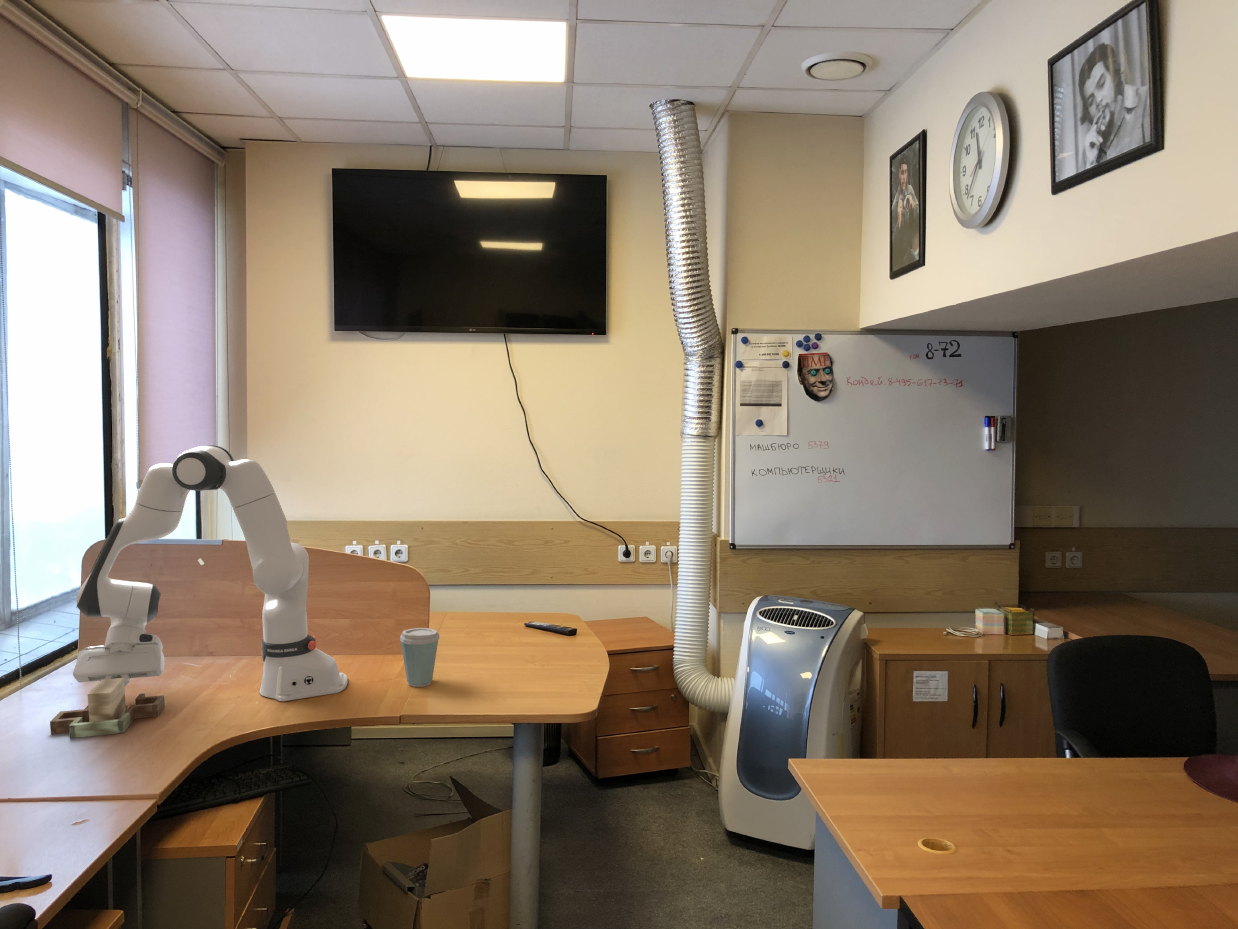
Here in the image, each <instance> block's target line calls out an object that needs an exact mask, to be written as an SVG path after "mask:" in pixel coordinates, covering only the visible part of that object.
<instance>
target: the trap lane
mask: <svg viewBox="0 0 1238 929" xmlns="http://www.w3.org/2000/svg"><path fill="white" fill-rule="evenodd" d="M165 701H166V700H165V695H164V694H163V695H151V696H146V693H143V692H142V693H139V694H138V695H137V697H136V698H135V699H134V702H135V703H134V704H132V705H131V704H130V705H129V706H128V707H127V708H126V711H125V713H124V714H123V715H122V716H121V717H120V719H116V720H106V721H95V722H89V708H88V705H87V706H86V707H85V708H84V709H75V710H74V709H73V710H62V711H59V712H58V713H57V714H56V715H55V716H54V717H53V718H52V719H51V720H50V722H49V726H50V735H55V734H64V733H69V734H68V735H69V739H73V738H74V739H75V738H84V737H85V738H86V737H94V736H95V737H96V736H104V735H116V734H124V733H125V732H126V731H127V729H128V728H129V726H131V724H132V723H133V722H134V720H135V719H141V718H142V719H143V718H153V717H159V715H160V714H161V713H162V712H163V710H164V709H165V704H166V703H165Z"/></svg>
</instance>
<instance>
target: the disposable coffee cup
mask: <svg viewBox="0 0 1238 929" xmlns="http://www.w3.org/2000/svg"><path fill="white" fill-rule="evenodd" d="M439 639H440V633H439V632H438V631H437V630H436V629H434V628H428V627H416V628H408V629H404V630H403V631H402V632H401V634H400V636H399V641H400V645H401V650H402V658H403V664H404V669H405V670H404V671H405V676H406V677H405V678H406V682H407V683H408V685H409V686H411V687H415V688H423V687H427V686H429V685H431V683H432V681H433V678H434V671H435V665H436V658H437V652H438V651H437V650H438V645H439Z"/></svg>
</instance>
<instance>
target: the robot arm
mask: <svg viewBox="0 0 1238 929" xmlns="http://www.w3.org/2000/svg"><path fill="white" fill-rule="evenodd" d="M219 489H220V490H221V491H223V492H224V493H225V494H226V496H227V498H228V500H229V504H230V505H231V508H232V510H233V513H234V515H235V517H236V520H237V522H238V524H239V527H240V529H241V532H242V534H243V537H244V540H245V543H246V544H245V545H246V549H247V552H248V558H249V561H250V565H251V569H252V579H253V580H252V581H253V582H254V585H255V587H256V588H257V589H258V590H259V591H260V592H262V593H263V594H264V599H263V607H262V615H261V616H262V633H263V634H262V637H263V639H262V641H261V659H262V662H263V670H262V677H261V682H260V684H261V685H260V689H259V694H260V695H261V696H263V697H266V698H270V699H275V700H276V701H279V702H287V701H294V700H300V699H301V700H302V699H305V698H311V697H313V698H314V697H318V696H325V695H332V694H338V693H340V692H342V691H343V690H345V689H346V687H347V686H348V676H347V674H345V673H343V672H340V670H339V666H338V663H337V662H336V660H335V658H334V657H332V656H331V655H329V654H328V653H325V652H324V651H322V650H320V649H318V648H317V639H316V636H315V635H313V636H312V635H310V634H308V617H307V615H308V613H307V603H308V592H309V591H308V590H309V588H308V587H309V570H310V569H309V566H310V565H309V564H310V557H309V553H308V551H307V550H306V547H304V546H303V545H301V544H300V543H296V542H292V541H291V538H290V535H289V531H288V523H287V522H288V521H287V518H286V516H285V513H284V510H283V508H282V506H281V504H280V501H279V497H278V496H277V493H276V491H275V488H274V487H273V484H272V483H271V480H270V478H268V474H266V472H265V470H264V469H263V467H262V465H261V464H260V463H259V462H257V461H256V460H253V459H247V458H245V459H238V460H235V461H234V457H233V456H232V454H231V453H230V452H229V451H228V450H227V449H225V448H224V447H221V446H219V445H214V444H213V445H212V444H211V445H200V446H196V447H192V448H190V449H186V450H184V451H183V452H182V453H180V454H179V455H178V456H177V457H176V458H175V460H174V461H173V463H168V462H165V463H163V462H161V463H156V464H153V465H151V467H149V469H148V470H147V472H146V474H145V476H144V478H143V481H142V482H141V485H140V488H139V490H138V493H137V496H136V500H135V504H134V506H133V508H132V509H131V510H130V512H129V513H128V514H127V515H126V516H125V517H123V518H122V517H121V518H118V520H116V522H115V523H113V526H112V527H111V529H110V531H109V534H108V535H107V537H106V538H105V541H104V542H103V545H102V547H101V549H100V551H99V553H98V555H97V557H96V559H95V561H94V563H93V566H92V568H91V571H90V572H89V574H88V576H87V578H86V579H85V581H84V582H83V583H82V585H81V587H80V589H79V590H78V593H77V595H76V607H77V609H78V610H79V611H80V612H81V613H82V614H83V615H84V616H86V618H87V617H89V618H90V617H92V618H102V617H104V618H110V619H109V620H110V626H109V628H108V630H107V633H106V637H105V641H104V645H96V646H93V645H92V646H91V645H90V646H86V647H85V648H82V649H81V650H79V651H78V654H77V656H76V663H75V665H74V669H73V672H72V676H73V678H74V680H76V681H77V682H78V683H90V682H91V683H92V682H100V681H101V680H105V679H116V678H124V688H126V687H127V686H128V684H129V683H130V681H131V679H137V678H138V679H139V678H151V677H160V676H161V675H162V674H163V673H164V671H165V655H164V653H163V649H164V647H163V643H162V641H161V639H160V638H159V636H158V635H156V634H151V633H147V632H146V626H147V624H148V623H149V622H151V621H152V620H154V619H155V618H156V617H157V616H158V613H159V602H160V600H161V596H162V594H161V591H160V590H159V589H158V588H157V586H156V585H155V584H152V583H149V582H142V581H141V582H140V581H131V580H123V579H114V578H111V577H109V574H110V572H111V570H112V567H113V566H114V564H115V562H116V559H117V557H118V555H119V554H120V552H121V551H122V550H123V549H125V548H126V547H128V546H130V545H135V544H138V543H144V542H150V541H155V540H159V539H162V538H164V537H167V536H168V535H170V534H171V533H173V532H174V531H175V530H176V529H177V527H178V526H179V523H180V521H181V519H182V515H183V511H184V509H185V508H184V507H185V503H186V500H187V497H188V495H189V492H190V491H195V492H199V491H201V492H202V491H217V490H219Z"/></svg>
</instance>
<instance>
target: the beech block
mask: <svg viewBox="0 0 1238 929" xmlns="http://www.w3.org/2000/svg"><path fill="white" fill-rule="evenodd" d="M125 688H126V687H124V678H116V679H105V680H101V681H98V683H97V684H96V685H95V686H94V687H93V688H92V689H91V690H90V691H89V692H88V693H87V704H88V705H87V706H88V708H89V722H95V721H106V720H116V719H120V717H121V716H122V715H123V714H124V713H125V711H126V710H127V706H126V691H125Z"/></svg>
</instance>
